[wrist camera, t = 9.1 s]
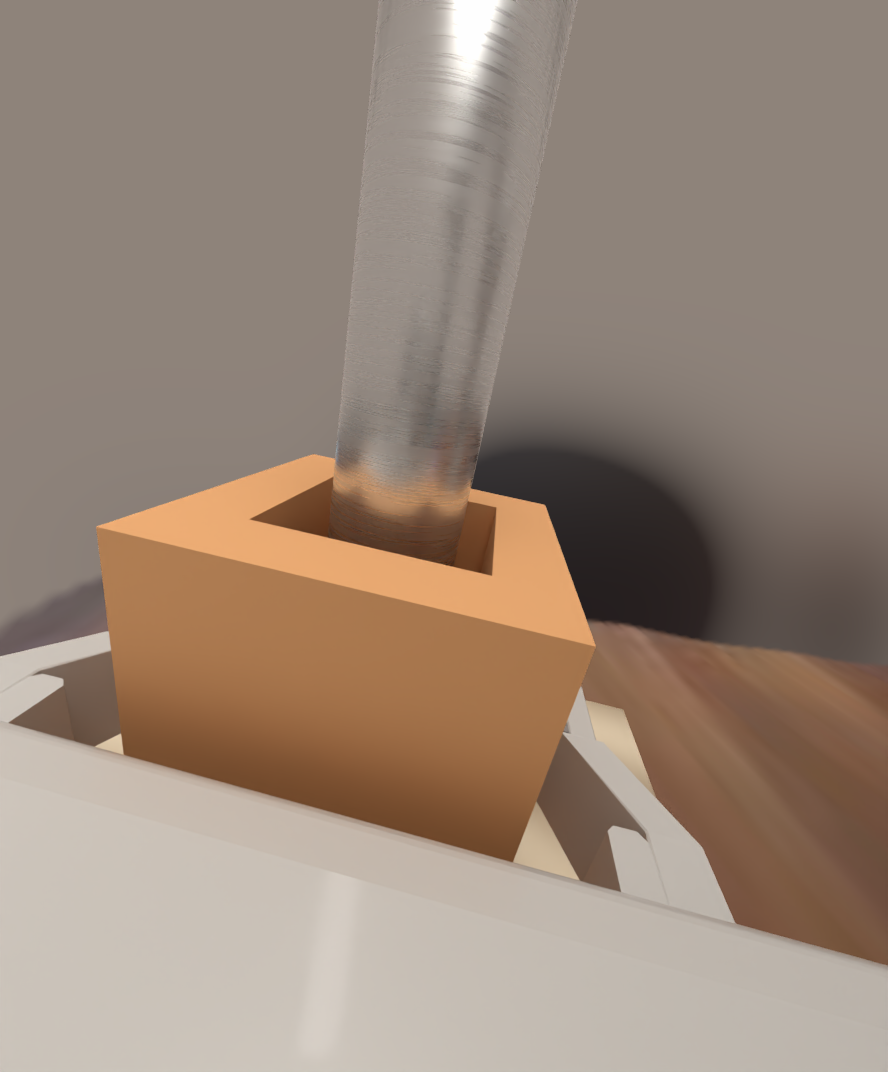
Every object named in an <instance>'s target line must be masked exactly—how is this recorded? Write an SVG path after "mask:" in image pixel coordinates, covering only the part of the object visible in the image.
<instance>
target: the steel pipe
mask: <svg viewBox="0 0 888 1072" xmlns="http://www.w3.org/2000/svg"><path fill="white" fill-rule="evenodd" d="M576 5H577V0H379V4H378V15H377V25H376V35H375V47H374V57H373V67H372V77H371V88H370V98H369V109H368V121H367V131H366V141H365V151H364V162H363V172H362V182H361V193H360V203H359V214H358V226H357V235H356V246H355V256H354V267H353V277H352V288H351V299H350V309H349V319H348V330H347V340H346V352H345V361H344V372H343V382H342V393H341V403H340V414H339V424H338V435H337V445H336V456H335V466H334V477H333V488H332V498H331V509H330V519H329V530H328V538H331V539H335V540H340V541H344V542H348V543H353V544H357V545H361V546H366V547H370V548H374V549H378V550H383V551H387V552H391V553H396V554H400V555H404V556H408V557H413V558H417V559H421V560H426V561H430V562H434V563H439V564H443V565H447V566H451V567H454V563H455V558H456V554H457V549H458V544H459V540H460V535H461V531H462V526H463V522H464V517H465V512H466V508H467V503H468V499H469V494H470V490H471V485H472V480H473V476H474V471H475V467H476V462H477V458H478V453H479V448H480V443H481V439H482V435H483V430H484V425H485V421H486V416H487V412H488V407H489V403H490V398H491V393H492V388H493V384H494V380H495V375H496V371H497V366H498V361H499V357H500V352H501V348H502V343H503V339H504V334H505V329H506V325H507V320H508V316H509V311H510V307H511V302H512V297H513V293H514V288H515V284H516V279H517V275H518V270H519V265H520V261H521V256H522V251H523V247H524V242H525V238H526V233H527V228H528V224H529V220H530V215H531V211H532V206H533V201H534V197H535V192H536V188H537V183H538V178H539V174H540V169H541V165H542V160H543V155H544V151H545V146H546V142H547V137H548V133H549V128H550V123H551V119H552V114H553V110H554V105H555V100H556V96H557V91H558V87H559V82H560V78H561V73H562V69H563V64H564V60H565V55H566V50H567V46H568V41H569V37H570V32H571V27H572V23H573V18H574V14H575V9H576Z"/></svg>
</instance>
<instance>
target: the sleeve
mask: <svg viewBox="0 0 888 1072" xmlns="http://www.w3.org/2000/svg"><path fill="white" fill-rule="evenodd" d="M334 466H335V459H333V458H328V457H324V456H319V455H315V454H313V455H309V456H306V457H303V458H300V459H298V460H295V461H291V462H288V463H285V464H282V465H279V466H276V467H273V468H270V469H267V470H265V471H261V472H259V473H255V474H252V475H249V476H246V477H244V478H240V479H237V480H235V481H232V482H229V483H226V484H223V485H220V486H217V487H214V488H211V489H208V490H205V491H202V492H199V493H196V494H193V495H190V496H187V497H184V498H181V499H178V500H175V501H172V502H169V503H166V504H163V505H160V506H157V507H154V508H151V509H148V510H145V511H142V512H139V513H136V514H133V515H130V516H127V517H124V518H121V519H118V520H115V521H112V522H109V523H106V524H103V525H100V526H97V527H96V529H97V537H98V545H99V554H100V561H101V571H102V579H103V587H104V596H105V604H106V612H107V621H108V629H109V637H110V646H111V654H112V662H113V671H114V679H115V687H116V696H117V704H118V712H119V721H120V729H121V737H122V746H123V754H124V755H126V756H130V757H134V758H137V759H141V760H145V761H148V762H152V763H155V764H159V765H163V766H166V767H170V768H174V769H177V770H181V771H184V772H188V773H192V774H195V775H199V776H203V777H206V778H210V779H213V780H217V781H221V782H224V783H228V784H232V785H235V786H239V787H242V788H246V789H250V790H253V791H257V792H261V793H264V794H268V795H271V796H275V797H279V798H282V799H286V800H290V801H293V802H297V803H300V804H304V805H308V806H311V807H315V808H319V809H322V810H326V811H330V812H333V813H337V814H340V815H344V816H348V817H351V818H355V819H358V820H362V821H366V822H369V823H373V824H376V825H380V826H384V827H387V828H391V829H395V830H398V831H402V832H405V833H409V834H413V835H416V836H420V837H423V838H427V839H431V840H434V841H438V842H441V843H445V844H449V845H452V846H456V847H459V848H463V849H467V850H470V851H474V852H477V853H481V854H485V855H488V856H492V857H495V858H499V859H503V860H506V861H510V862H513V861H514V858H515V855H516V853H517V850H518V848H519V845H520V842H521V840H522V837H523V835H524V832H525V829H526V827H527V824H528V822H529V819H530V816H531V814H532V811H533V809H534V806H535V803H536V801H537V798H538V796H539V793H540V790H541V788H542V785H543V783H544V780H545V777H546V775H547V772H548V770H549V767H550V764H551V762H552V759H553V757H554V754H555V751H556V749H557V746H558V744H559V741H560V738H561V736H562V733H563V731H564V728H565V725H566V723H567V720H568V718H569V715H570V712H571V710H572V707H573V705H574V702H575V699H576V697H577V694H578V692H579V689H580V686H581V684H582V681H583V679H584V676H585V673H586V671H587V668H588V666H589V663H590V660H591V658H592V655H593V653H594V650H595V647H596V646H595V643H594V640H593V637H592V634H591V632H590V629H589V626H588V623H587V621H586V618H585V615H584V612H583V609H582V607H581V604H580V601H579V598H578V595H577V593H576V590H575V587H574V584H573V582H572V579H571V576H570V573H569V571H568V568H567V565H566V562H565V559H564V556H563V554H562V551H561V548H560V545H559V543H558V540H557V537H556V535H555V531H554V529H553V526H552V523H551V520H550V518H549V515H548V512H547V509H546V507H545V505H542V504H538V503H533V502H529V501H524V500H520V499H515V498H510V497H506V496H501V495H497V494H492V493H488V492H483V491H479V490H473V489H471V490H470V494H469V499H468V503H467V508H466V512H465V517H464V522H463V526H462V531H461V535H460V540H459V544H458V549H457V554H456V558H455V563H454V567H451V566H447V565H443V564H439V563H434V562H430V561H426V560H421V559H417V558H413V557H408V556H404V555H400V554H396V553H391V552H387V551H383V550H378V549H374V548H370V547H366V546H361V545H357V544H353V543H348V542H344V541H340V540H335V539H331V538H328V530H329V519H330V509H331V498H332V488H333V477H334Z"/></svg>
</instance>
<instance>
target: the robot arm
mask: <svg viewBox="0 0 888 1072" xmlns="http://www.w3.org/2000/svg"><path fill="white" fill-rule="evenodd" d="M119 734H121V729H120V721H119V712H118V704H117V696H116V687H115V679H114V671H113V662H112V654H111V646H110V637H109V631H107V632H103V633H99V634H94V635H90V636H86V637H81V638H77V639H73V640H69V641H64V642H60V643H56V644H52V645H47V646H43V647H39V648H34V649H30V650H26V651H22V652H17V653H13V654H9V655H5V656H0V1072H888V966H887V965H883V964H880V963H876V962H873V961H869V960H865V959H862V958H858V957H854V956H851V955H847V954H844V953H840V952H836V951H833V950H829V949H826V948H822V947H818V946H815V945H811V944H807V943H804V942H800V941H797V940H793V939H789V938H786V937H782V936H778V935H775V934H771V933H768V932H764V931H760V930H757V929H753V928H749V927H746V926H742V925H739V924H735V921H734V919H733V917H732V915H731V912H730V910H729V908H728V905H727V903H726V901H725V898H724V896H723V894H722V892H721V889H720V887H719V885H718V882H717V880H716V878H715V875H714V873H713V871H712V869H711V866H710V864H709V862H708V859H707V857H706V855H705V852H704V850H703V848H702V847H701V846H700V844H699V843H698V842H697V841H696V840H695V839H694V838H693V837H692V836H691V835H690V834H689V833H688V832H687V831H686V830H685V829H684V828H683V826H682V825H681V824H680V823H679V822H678V821H677V820H676V819H675V818H674V817H673V816H672V815H671V814H670V813H669V812H668V811H667V810H666V808H665V807H664V806H663V805H662V804H661V803H660V802H659V801H658V800H657V799H656V798H655V797H654V796H653V795H652V794H651V793H650V791H649V790H648V789H647V788H646V787H645V786H644V785H643V784H642V783H641V782H640V781H639V780H638V779H637V778H636V777H635V776H634V775H633V773H632V772H631V771H630V770H629V769H628V768H627V767H626V766H625V765H624V764H623V763H622V762H621V761H620V760H619V759H618V758H617V756H616V755H615V754H614V753H613V752H612V751H611V750H610V749H609V748H608V747H607V746H606V745H605V744H604V743H603V742H600V741H597V740H596V738H595V734H594V730H593V727H592V723H591V719H590V716H589V712H588V708H587V705H586V701H585V697H584V694H583V690H582V687H581V686H580V689H579V692H578V694H577V697H576V699H575V702H574V705H573V707H572V710H571V712H570V715H569V718H568V720H567V723H566V725H565V728H564V731H563V733H562V736H561V738H560V741H559V744H558V746H557V749H556V751H555V754H554V757H553V759H552V762H551V764H550V767H549V770H548V772H547V775H546V777H545V780H544V783H543V785H542V788H541V790H540V793H539V796H538V798H537V803H538V805H539V807H540V808H541V810H542V812H543V814H544V816H545V818H546V819H547V821H548V823H549V825H550V827H551V829H552V830H553V832H554V834H555V836H556V838H557V840H558V841H559V843H560V845H561V847H562V849H563V851H564V853H565V854H566V856H567V858H568V860H569V862H570V864H571V865H572V867H573V869H574V871H575V873H576V875H577V876H578V878H579V880H580V881H579V880H576V879H572V878H568V877H565V876H561V875H557V874H554V873H550V872H546V871H543V870H539V869H535V868H532V867H528V866H525V865H521V864H517V863H514V862H510V861H506V860H503V859H499V858H495V857H492V856H488V855H485V854H481V853H477V852H474V851H470V850H467V849H463V848H459V847H456V846H452V845H449V844H445V843H441V842H438V841H434V840H431V839H427V838H423V837H420V836H416V835H413V834H409V833H405V832H402V831H398V830H395V829H391V828H387V827H384V826H380V825H376V824H373V823H369V822H366V821H362V820H358V819H355V818H351V817H348V816H344V815H340V814H337V813H333V812H330V811H326V810H322V809H319V808H315V807H311V806H308V805H304V804H300V803H297V802H293V801H290V800H286V799H282V798H279V797H275V796H271V795H268V794H264V793H261V792H257V791H253V790H250V789H246V788H242V787H239V786H235V785H232V784H228V783H224V782H221V781H217V780H213V779H210V778H206V777H203V776H199V775H195V774H192V773H188V772H184V771H181V770H177V769H174V768H170V767H166V766H163V765H159V764H155V763H152V762H148V761H145V760H141V759H137V758H134V757H130V756H126V755H123V754H119V753H116V752H112V751H108V750H105V749H101V748H97V747H95V746H97V745H99V744H101V743H103V742H105V741H107V740H109V739H111V738H113V737H115V736H117V735H119Z"/></svg>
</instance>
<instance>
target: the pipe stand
mask: <svg viewBox="0 0 888 1072" xmlns="http://www.w3.org/2000/svg"><path fill="white" fill-rule="evenodd" d="M585 701H586V700H585ZM586 705H587V708H588V712H589V716H590V719H591V723H592V727H593V730H594V734H595V738H596V740H597V741H600V742H603V743H604V744H605V745H606V746H607V747H608V748H609V749H610V750H611V751H612V752H613V753H614V754H615V755H616V756H617V758H618V759H619V760H620V761H621V762H622V763H623V764H624V765H625V766H626V767H627V768H628V769H629V770H630V771H631V772H632V773H633V775H634V776H635V777H636V778H637V779H638V780H639V781H640V782H641V783H642V784H643V785H644V786H645V787H646V788H647V789H648V790H649V791H650V793H651V794H652V795H653V796H654V797H655V798H656V796H655V794H654V791H653V788H652V786H651V783H650V780H649V778H648V775H647V772H646V770H645V767H644V764H643V762H642V759H641V756H640V754H639V751H638V748H637V746H636V743H635V740H634V737H633V735H632V732H631V729H630V727H629V724H628V721H627V719H626V716H625V713H624V711H623V709H619V708H615V707H611V706H607V705H603V704H599V703H595V702H591V701H586ZM95 747H97V748H101V749H105V750H108V751H112V752H116V753H119V754H123V746H122V737H121V734H119V735H117V736H115V737H113V738H111V739H109V740H107V741H105V742H103V743H101V744H99V745H97V746H95ZM123 755H124V754H123ZM513 862H514V863H517V864H521V865H525V866H528V867H532V868H535V869H539V870H543V871H546V872H550V873H554V874H557V875H561V876H565V877H568V878H572V879H576V880H579V878H578V876H577V875H576V873H575V871H574V869H573V867H572V865H571V864H570V862H569V860H568V858H567V856H566V854H565V853H564V851H563V849H562V847H561V845H560V843H559V841H558V840H557V838H556V836H555V834H554V832H553V830H552V829H551V827H550V825H549V823H548V821H547V819H546V818H545V816H544V814H543V812H542V810H541V808H540V807H539V805H538V803H537V801H536V803H535V806H534V809H533V811H532V814H531V816H530V819H529V822H528V824H527V827H526V829H525V832H524V835H523V837H522V840H521V842H520V845H519V848H518V850H517V853H516V855H515V858H514V861H513ZM579 881H580V880H579Z"/></svg>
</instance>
